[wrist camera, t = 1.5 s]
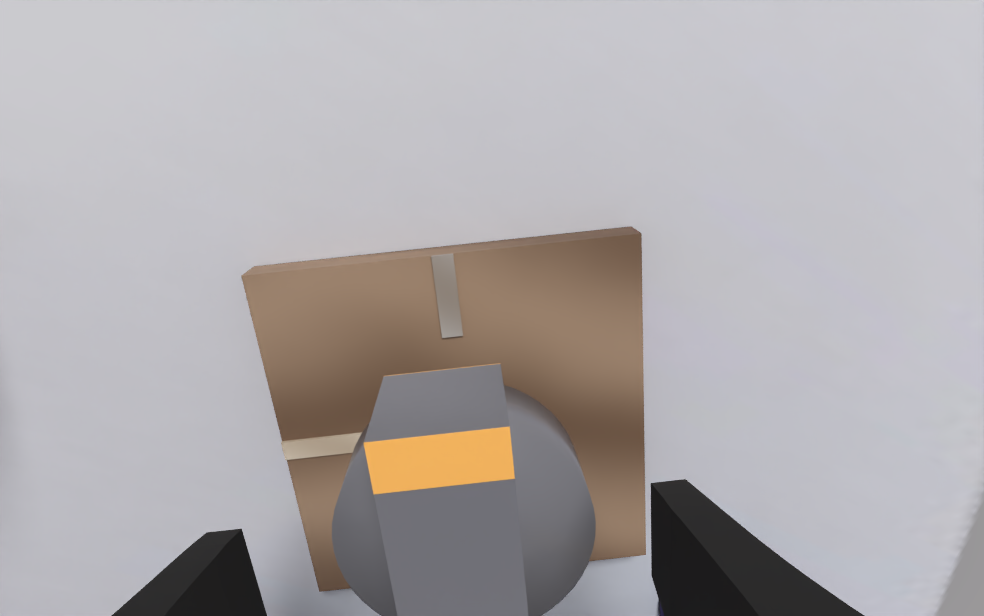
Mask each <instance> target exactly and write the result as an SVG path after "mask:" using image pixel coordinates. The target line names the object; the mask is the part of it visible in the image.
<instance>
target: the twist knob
mask: <svg viewBox="0 0 984 616" xmlns="http://www.w3.org/2000/svg"><path fill="white" fill-rule="evenodd" d="M595 531H596V520H595V513H594V507H593V503H592V500H591V497H590V493H589V490H588V487H587V484H586V481H585V478H584V475H583V472H582V469H581V466H580V463H579V460H578V457H577V454H576V451H575V448H574V445H573V443H572V441H571V439H570V437H569V434H568V433H567V431H566V430H565V428H564V427H563V425H562V424H561V422H560V421H559V420H558V419H557V418H556V417H555V416H554V414H553V413H552V412H551V411H550V410H548V409H547V408H546V407H545V406H544V405H542V404H541V403H540V402H538V401H537V400H535V399H534V398H532V397H531V396H529V395H527V394H525V393H523V392H521V391H519V390H517V389H515V388H512V387H509V386H506V385H504V384H503V377H502V371H501V364H500V363H498V364H489V365H480V366H471V367H461V368H452V369H443V370H434V371H425V372H415V373H406V374H397V375H388V376H384V377H383V380H382V384H381V387H380V390H379V394H378V397H377V400H376V403H375V407H374V410H373V413H372V417H371V420H370V422H369V424H368V425H367V426H366V428H365V429H364V431H363V432H362V434H361V436H360V437H359V439H358V441H357V443H356V445H355V448H354V451H353V454H352V457H351V460H350V463H349V466H348V469H347V472H346V475H345V478H344V481H343V484H342V487H341V490H340V494H339V497H338V500H337V503H336V506H335V509H334V515H333V520H332V543H333V549H334V554H335V557H336V560H337V563H338V566H339V568H340V570H341V572H342V574H343V576H344V578H345V580H346V581H347V583H348V584H349V586H350V587H351V588H352V590H353V591H354V592H355V593H356V594H357V595H358V597H359V598H360V599H361V600H362V601H363V602H364V603H365V604H367V605H368V606H369V607H370V608H371V609H373V610H374V611H375V612H377V613H378V614H380V615H381V616H541V615H543V614H544V613H546V612H547V611H549V610H550V609H552V608H553V607H554V606H555V605H556V604H558V603H559V602H560V601H561V600H562V599H563V598H564V597H565V596H566V595H567V594H568V593H569V592H570V591H571V590H572V589H573V587H574V586H575V585H576V583H577V582H578V580H579V579H580V578H581V576H582V574H583V572H584V570H585V568H586V567H587V565H588V562H589V559H590V557H591V554H592V551H593V546H594V541H595Z"/></svg>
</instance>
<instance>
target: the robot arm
mask: <svg viewBox="0 0 984 616" xmlns="http://www.w3.org/2000/svg"><path fill="white" fill-rule="evenodd" d="M651 549H652V578H653V581H654V585H655V588H656V591H657V594H658V598H659V601H660V604H661V607H662V610H663V613H664V616H864V615H863V614H861V613H859V612H858V611H856V610H855V609H853V608H852V607H850V606H849V605H847V604H846V603H844V602H843V601H841V600H840V599H839V598H837V597H836V596H834V595H833V594H831V593H830V592H829V591H827V590H826V589H824V588H823V587H821V586H820V585H819V584H817V583H816V582H814V581H813V580H811V579H810V578H809V577H807V576H806V575H804V574H803V573H802V572H800V571H799V570H798V569H796V568H795V567H794V566H792V565H791V564H790V563H788V562H787V561H786V560H784V559H783V558H782V557H780V556H779V555H778V554H776V553H775V552H774V551H773V550H771V549H770V548H769V547H767V546H766V545H765V544H764V543H762V542H761V541H760V540H758V539H757V538H756V537H755V536H753V535H752V534H751V533H750V532H748V531H747V530H746V529H745V528H743V527H742V526H741V525H740V524H739V523H737V522H736V521H735V520H734V519H733V518H731V517H730V516H729V515H728V514H726V513H725V512H724V511H723V510H722V509H720V508H719V507H718V506H717V505H716V504H714V503H713V502H712V501H711V500H710V499H708V498H707V497H706V496H705V495H704V494H702V493H701V492H700V491H699V490H698V489H696V488H695V487H694V486H693V485H692V484H690V483H689V482H688V481H687V480H685V479H684V480H675V481H666V482H657V483H651ZM112 616H267V614H266V611H265V607H264V604H263V601H262V597H261V594H260V590H259V587H258V583H257V580H256V577H255V573H254V570H253V566H252V563H251V559H250V556H249V553H248V549H247V546H246V542H245V539H244V535H243V532H242V529H235V530H226V531H217V532H208V533H206V534H205V535H203V536H202V537H201V538H200V539H198V540H197V541H196V542H195V543H193V544H192V545H191V546H190V547H189V548H188V549H186V550H185V551H184V552H183V553H182V554H181V555H179V556H178V557H177V558H176V559H175V560H174V561H173V562H172V563H170V564H169V565H168V566H167V567H166V568H165V569H164V570H163V571H161V572H160V573H159V574H158V575H157V576H156V577H155V578H154V579H153V580H151V581H150V582H149V583H148V584H147V585H146V586H145V587H144V588H142V589H141V590H140V591H139V592H138V593H137V594H136V595H135V596H133V597H132V598H131V599H130V600H129V601H128V602H127V603H126V604H124V605H123V606H122V607H121V608H120V609H119V610H118V611H116V612H115V613H114V614H113V615H112Z"/></svg>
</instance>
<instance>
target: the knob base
mask: <svg viewBox="0 0 984 616" xmlns="http://www.w3.org/2000/svg"><path fill="white" fill-rule="evenodd" d="M242 280H243V284H244V288H245V292H246V296H247V300H248V304H249V308H250V313H251V317H252V321H253V325H254V329H255V333H256V337H257V341H258V345H259V349H260V353H261V357H262V361H263V365H264V369H265V373H266V377H267V381H268V385H269V389H270V393H271V398H272V402H273V406H274V410H275V414H276V418H277V422H278V426H279V430H280V434H281V438H282V443H281V444H282V448H283V452H284V456H285V460H287V462H288V466H289V470H290V474H291V478H292V482H293V487H294V491H295V495H296V499H297V503H298V507H299V511H300V515H301V519H302V523H303V527H304V531H305V535H306V539H307V543H308V547H309V551H310V555H311V559H312V563H313V567H314V572H315V576H316V580H317V584H318V588H319V592H321V591H330V590H339V589H348V588H351V587H350V586H349V584H348V583H347V581H346V580H345V578H344V576H343V574H342V572H341V570H340V568H339V566H338V563H337V560H336V557H335V554H334V549H333V543H332V520H333V515H334V509H335V506H336V503H337V500H338V497H339V494H340V490H341V487H342V484H343V481H344V478H345V475H346V472H347V469H348V466H349V463H350V460H351V457H352V454H353V451H354V448H355V445H356V443H357V441H358V439H359V437H360V436H361V434H362V432H363V431H364V429H365V428H366V426H367V425H368V424H369V422H370V420H371V417H372V413H373V410H374V407H375V403H376V400H377V397H378V394H379V390H380V387H381V384H382V380H383V377H384V376H388V375H397V374H406V373H415V372H425V371H434V370H443V369H452V368H461V367H471V366H480V365H489V364H498V363H500V364H501V371H502V377H503V384H504V385H506V386H509V387H512V388H515V389H517V390H519V391H521V392H523V393H525V394H527V395H529V396H531V397H532V398H534V399H535V400H537V401H538V402H540V403H541V404H542V405H544V406H545V407H546V408H547V409H548V410H550V411H551V412H552V413H553V414H554V416H555V417H556V418H557V419H558V420H559V421H560V422H561V424H562V425H563V427H564V428H565V430H566V431H567V433H568V434H569V437H570V439H571V441H572V443H573V445H574V448H575V451H576V454H577V457H578V460H579V463H580V466H581V469H582V472H583V475H584V478H585V481H586V484H587V487H588V490H589V493H590V497H591V500H592V503H593V507H594V513H595V520H596V531H595V541H594V546H593V551H592V554H591V557H590V559H589V561H595V560H604V559H613V558H622V557H630V556H639V555H646V533H645V462H644V391H643V319H642V248H641V233H640V232H639V231H637V230H636V229H634V228H633V227H622V228H613V229H604V230H594V231H585V232H575V233H566V234H556V235H547V236H538V237H528V238H519V239H509V240H500V241H490V242H481V243H472V244H462V245H453V246H443V247H434V248H424V249H415V250H406V251H396V252H387V253H377V254H368V255H358V256H349V257H340V258H330V259H321V260H311V261H302V262H292V263H283V264H274V265H264V266H255V267H253V268H251V269H250V270H249V271H247V272H246V273H245V274H243V275H242Z"/></svg>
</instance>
